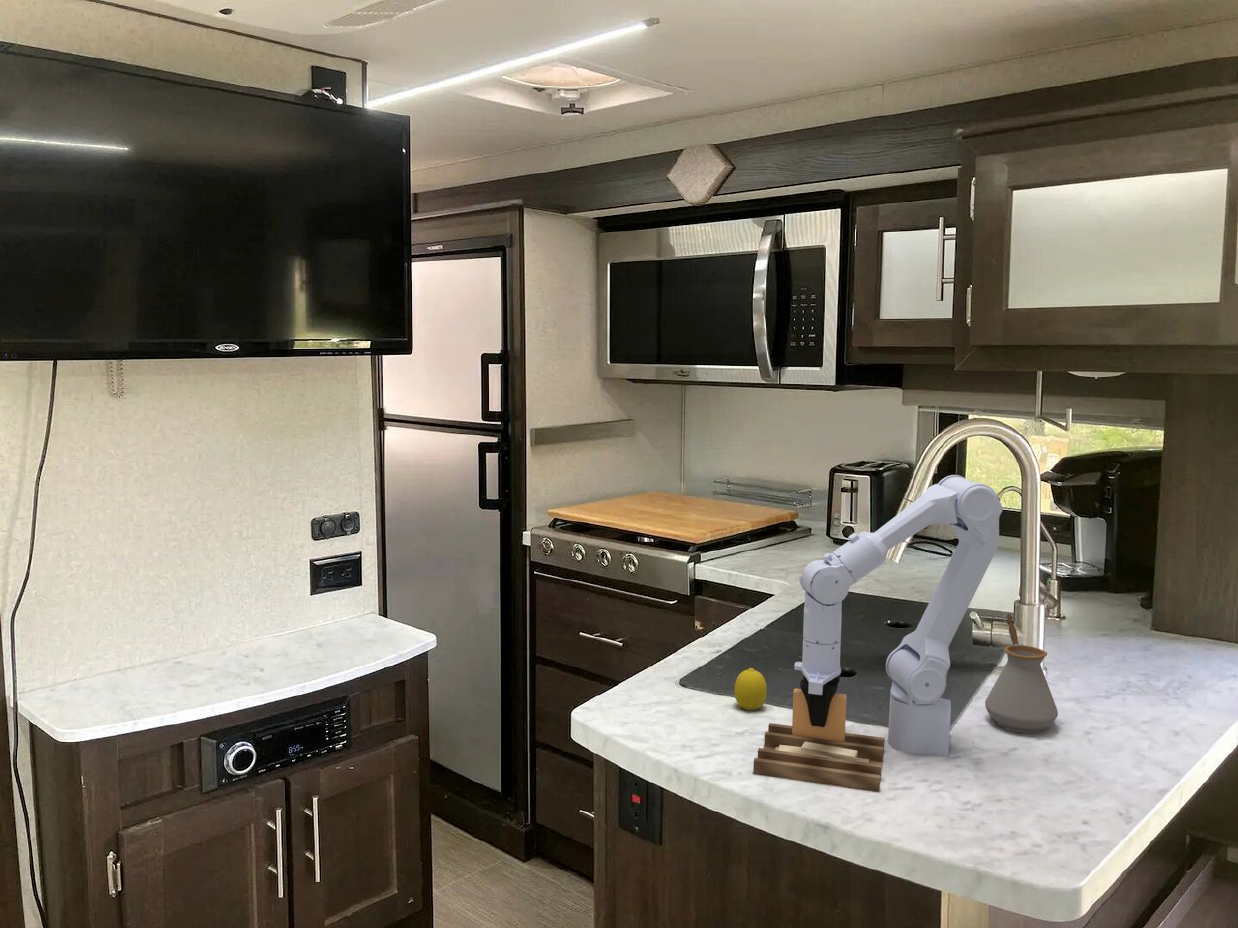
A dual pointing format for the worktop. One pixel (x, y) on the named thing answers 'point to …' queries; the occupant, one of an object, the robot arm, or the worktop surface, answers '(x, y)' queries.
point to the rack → (821, 760)
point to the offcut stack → (823, 751)
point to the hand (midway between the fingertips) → (818, 722)
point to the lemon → (750, 689)
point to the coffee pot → (1022, 690)
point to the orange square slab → (833, 724)
